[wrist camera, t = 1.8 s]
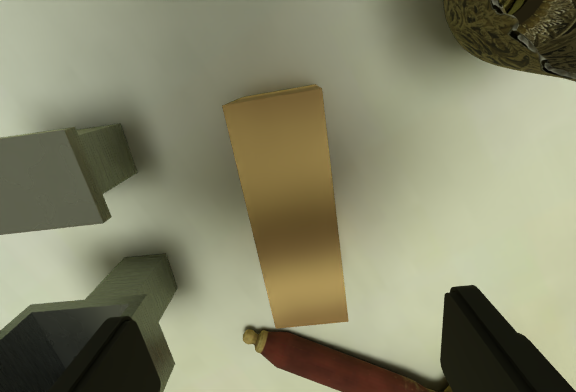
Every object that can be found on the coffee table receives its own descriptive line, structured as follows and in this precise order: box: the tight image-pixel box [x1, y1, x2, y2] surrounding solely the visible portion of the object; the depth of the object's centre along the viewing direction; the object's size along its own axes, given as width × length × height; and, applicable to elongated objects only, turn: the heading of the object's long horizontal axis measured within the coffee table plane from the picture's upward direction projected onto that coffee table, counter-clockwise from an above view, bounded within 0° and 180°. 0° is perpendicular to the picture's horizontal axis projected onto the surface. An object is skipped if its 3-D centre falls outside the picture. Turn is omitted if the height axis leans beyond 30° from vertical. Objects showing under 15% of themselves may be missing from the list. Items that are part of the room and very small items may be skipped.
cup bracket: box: [0, 253, 177, 392], centre depth 17 cm, size 5×6×10 cm
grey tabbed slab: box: [0, 124, 137, 235], centre depth 15 cm, size 4×6×6 cm, turn 98°
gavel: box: [243, 329, 453, 392], centre depth 23 cm, size 21×5×10 cm
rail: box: [222, 84, 348, 328], centre depth 16 cm, size 12×4×5 cm, turn 9°
